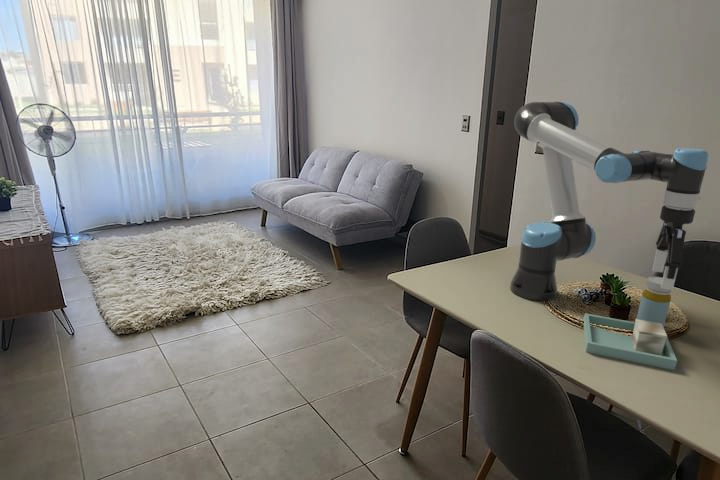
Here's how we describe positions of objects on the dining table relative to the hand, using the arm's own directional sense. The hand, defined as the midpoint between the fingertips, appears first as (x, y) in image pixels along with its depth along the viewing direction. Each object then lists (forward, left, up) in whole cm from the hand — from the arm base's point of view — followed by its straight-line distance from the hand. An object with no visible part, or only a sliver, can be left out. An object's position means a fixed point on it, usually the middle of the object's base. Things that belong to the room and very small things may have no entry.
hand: (661, 279), depth 131 cm
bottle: (0, 0, -16) cm, 16 cm away
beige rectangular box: (-3, -15, -15) cm, 21 cm away
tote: (-8, -15, -15) cm, 23 cm away
